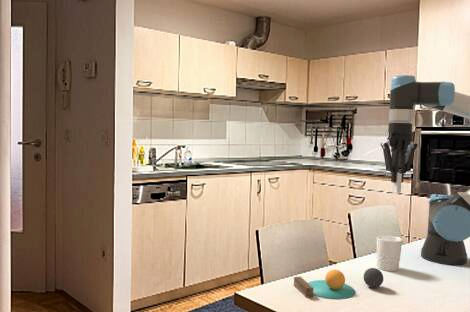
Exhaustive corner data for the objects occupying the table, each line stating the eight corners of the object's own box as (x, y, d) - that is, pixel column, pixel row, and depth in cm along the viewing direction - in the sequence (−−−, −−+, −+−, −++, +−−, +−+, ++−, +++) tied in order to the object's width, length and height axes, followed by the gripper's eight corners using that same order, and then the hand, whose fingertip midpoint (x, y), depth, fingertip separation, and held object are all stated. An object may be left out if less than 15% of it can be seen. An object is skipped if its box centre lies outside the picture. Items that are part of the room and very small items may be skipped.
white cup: (402, 273, 145) (403, 242, 144) (376, 270, 146) (378, 240, 146) (398, 265, 152) (400, 236, 152) (373, 263, 154) (375, 234, 153)
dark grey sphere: (362, 263, 133) (357, 281, 133) (373, 270, 127) (368, 288, 128) (378, 267, 134) (373, 284, 134) (389, 273, 129) (384, 292, 129)
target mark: (340, 279, 136) (340, 279, 136) (364, 297, 123) (364, 296, 123) (297, 282, 133) (297, 281, 133) (316, 300, 120) (316, 299, 120)
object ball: (332, 263, 131) (318, 276, 130) (340, 269, 125) (326, 283, 125) (343, 276, 132) (329, 289, 131) (352, 282, 126) (338, 296, 126)
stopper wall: (300, 285, 131) (300, 276, 130) (312, 296, 122) (313, 287, 122) (293, 285, 130) (294, 277, 130) (306, 297, 121) (306, 288, 121)
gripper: (410, 122, 157) (406, 190, 159) (377, 121, 154) (373, 190, 156) (424, 123, 150) (420, 193, 152) (389, 121, 147) (385, 194, 148)
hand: (396, 192), depth 154 cm, fingers closed
